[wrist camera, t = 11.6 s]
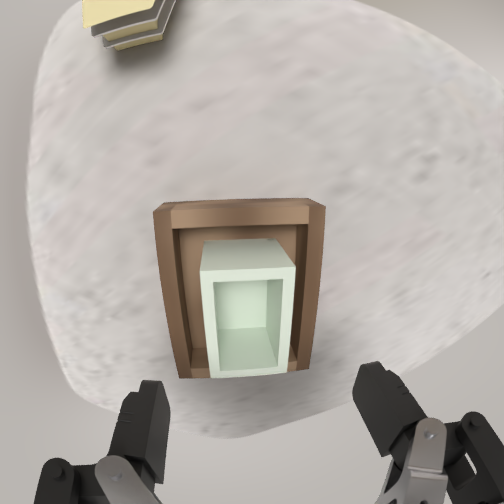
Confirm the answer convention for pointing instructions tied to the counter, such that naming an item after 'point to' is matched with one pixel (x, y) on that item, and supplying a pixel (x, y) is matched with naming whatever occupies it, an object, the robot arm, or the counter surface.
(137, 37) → the stacked layers on plate
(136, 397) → the robot arm
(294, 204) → the big crate
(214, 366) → the box
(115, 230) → the counter surface
